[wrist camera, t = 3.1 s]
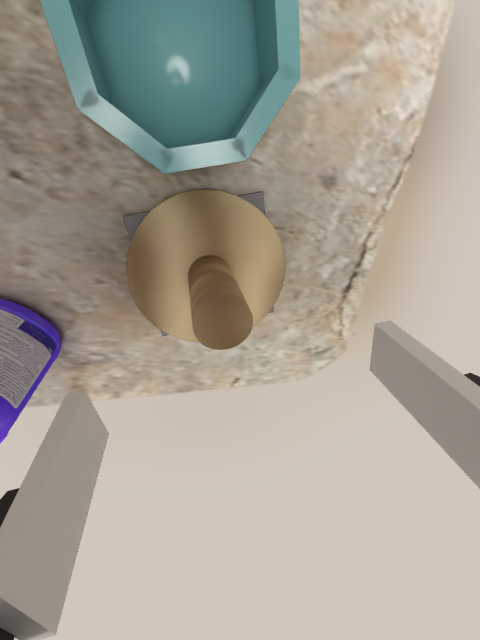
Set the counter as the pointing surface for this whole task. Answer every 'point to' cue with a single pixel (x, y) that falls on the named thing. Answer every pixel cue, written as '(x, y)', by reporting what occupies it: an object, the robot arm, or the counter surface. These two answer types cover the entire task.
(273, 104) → the bowl
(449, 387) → the robot arm
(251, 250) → the lid
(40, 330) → the bottle
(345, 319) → the counter surface
